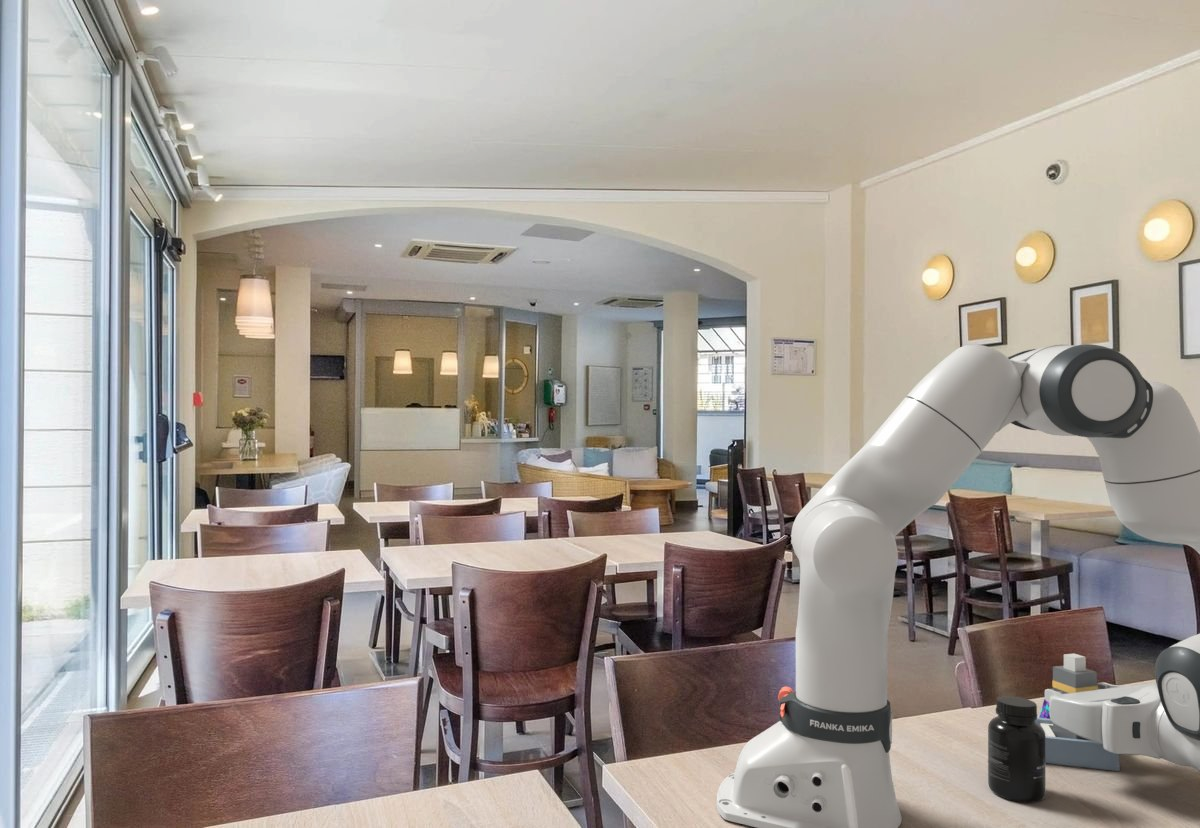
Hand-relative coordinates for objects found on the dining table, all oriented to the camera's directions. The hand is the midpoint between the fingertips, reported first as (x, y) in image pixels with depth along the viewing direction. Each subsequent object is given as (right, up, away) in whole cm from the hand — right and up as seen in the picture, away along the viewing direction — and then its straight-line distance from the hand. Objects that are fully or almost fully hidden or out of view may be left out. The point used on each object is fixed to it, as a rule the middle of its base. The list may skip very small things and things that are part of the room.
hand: (1073, 690), depth 124 cm
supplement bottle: (-15, -9, -13) cm, 22 cm away
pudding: (+4, -10, +10) cm, 15 cm away
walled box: (-2, -9, 0) cm, 10 cm away
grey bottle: (0, -9, 0) cm, 9 cm away
